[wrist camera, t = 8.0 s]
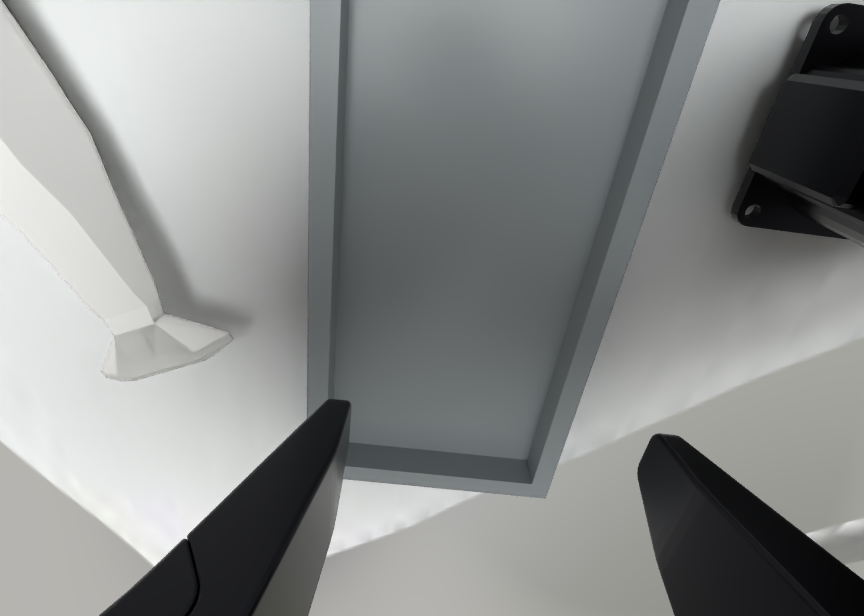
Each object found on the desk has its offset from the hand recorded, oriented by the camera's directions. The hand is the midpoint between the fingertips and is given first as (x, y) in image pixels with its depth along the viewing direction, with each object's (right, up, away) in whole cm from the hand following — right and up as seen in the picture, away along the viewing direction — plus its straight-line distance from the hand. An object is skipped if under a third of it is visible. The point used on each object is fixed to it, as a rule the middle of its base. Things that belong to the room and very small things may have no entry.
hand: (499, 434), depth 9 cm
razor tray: (0, +5, +9) cm, 11 cm away
